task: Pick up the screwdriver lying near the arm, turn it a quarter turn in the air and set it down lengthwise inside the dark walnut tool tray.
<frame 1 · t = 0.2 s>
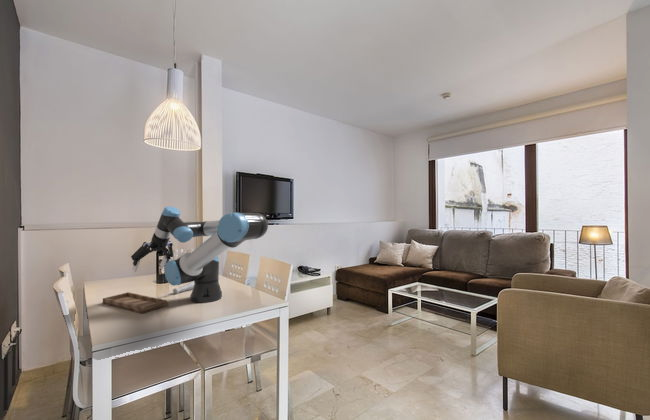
hand: (148, 268, 154), 15 cm above the table, tool tilted 30°, fingers open, 13 cm apart
screwdriver: (178, 293, 162), on the table
tool tray: (134, 304, 142), on the table
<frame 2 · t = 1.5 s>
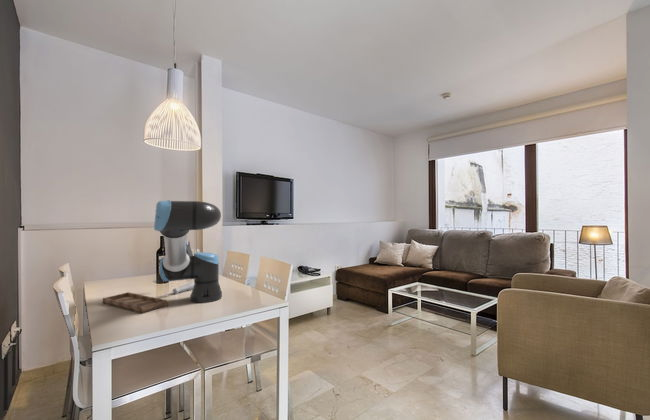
hand: (178, 271, 162), 12 cm above the table, tool pointing down, fingers open, 13 cm apart
nothing on the table moved.
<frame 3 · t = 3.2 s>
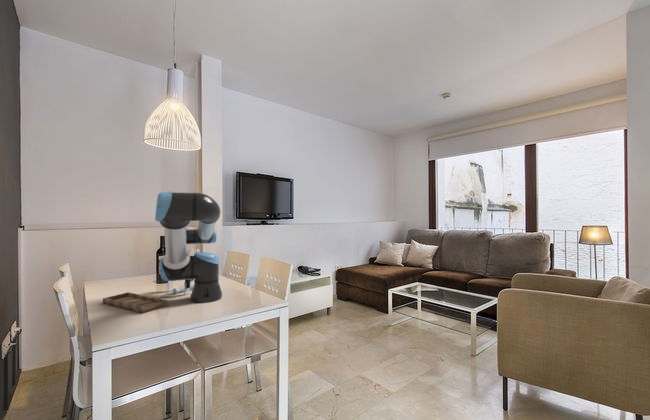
hand: (178, 292, 162), 0 cm above the table, tool pointing down, fingers open, 12 cm apart
nothing on the table moved.
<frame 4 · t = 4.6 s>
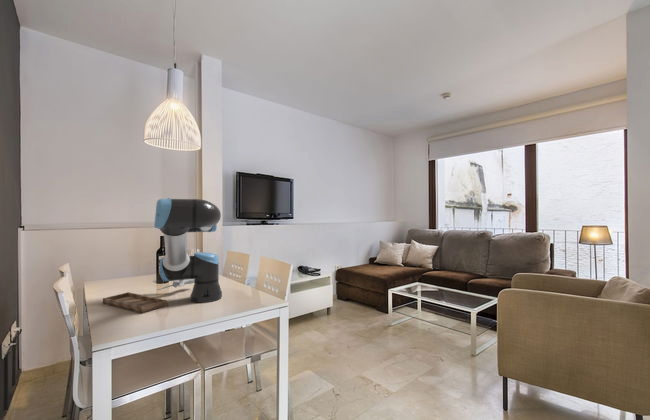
hand: (178, 285, 162), 4 cm above the table, tool pointing down, fingers closed on screwdriver, 4 cm apart
screwdriver: (178, 287, 162), point 3 cm above the table, touching gripper
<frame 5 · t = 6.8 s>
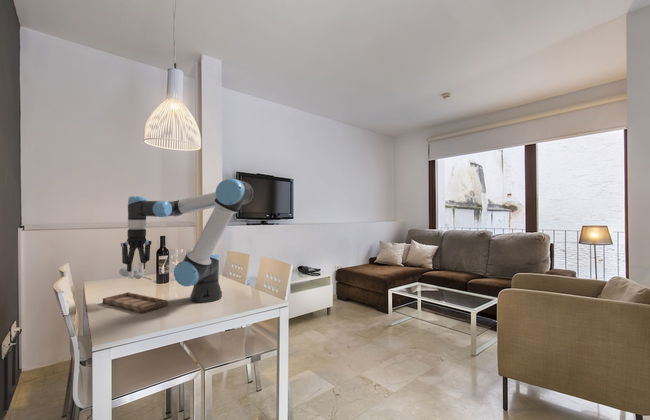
hand: (136, 277, 143), 13 cm above the table, tool pointing down, fingers closed on screwdriver, 4 cm apart
screwdriver: (136, 278, 143), point 12 cm above the table, touching gripper
when the fingers open (3 cm above the table, at t = 9.4 s): screwdriver drops 1 cm, resting on tool tray.
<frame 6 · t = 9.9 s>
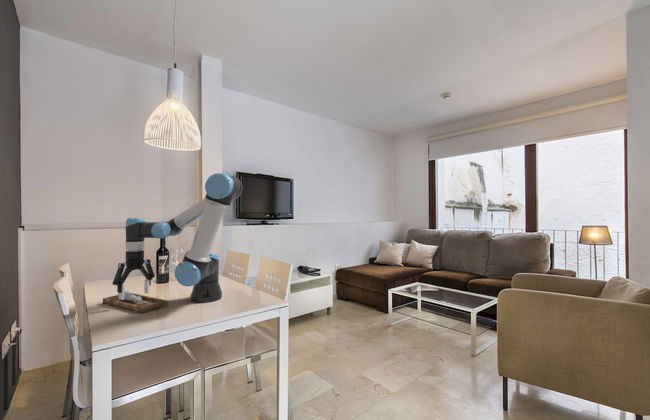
hand: (134, 296, 142), 4 cm above the table, tool pointing down, fingers open, 11 cm apart
screwdriver: (135, 302, 142), point 1 cm above the table, touching tool tray
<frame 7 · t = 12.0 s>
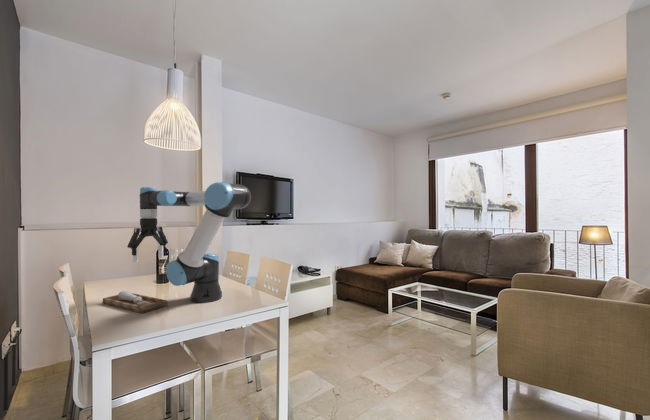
hand: (148, 259, 150), 20 cm above the table, tool pointing down, fingers open, 13 cm apart
nothing on the table moved.
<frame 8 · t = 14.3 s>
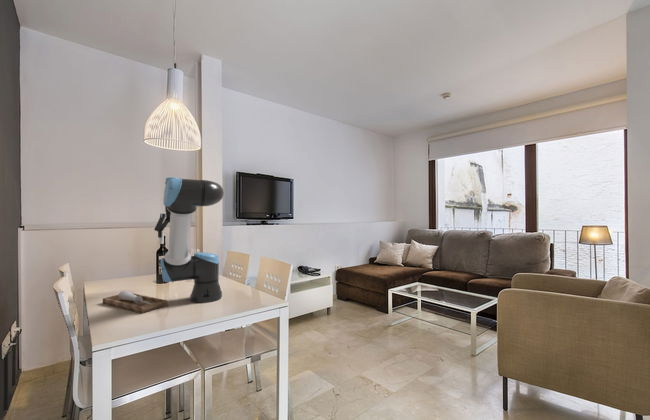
hand: (172, 242, 169), 27 cm above the table, tool pointing down, fingers open, 13 cm apart
nothing on the table moved.
at the end: screwdriver inside the target area on the tool tray (0.5 cm from its centre), point 0.8 cm above the tool tray's base; screwdriver touching tool tray; the gripper is holding nothing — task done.
